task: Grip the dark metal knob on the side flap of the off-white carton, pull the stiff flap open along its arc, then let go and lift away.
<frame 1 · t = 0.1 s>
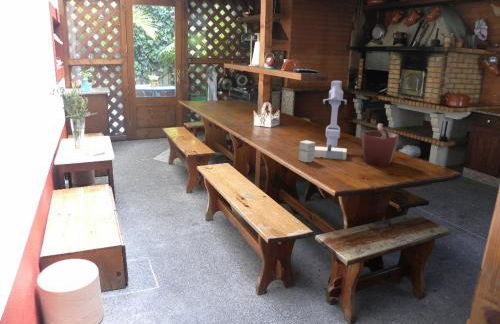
hand: (334, 111, 256), 32 cm above the table, tool tilted 50°, fingers open, 7 cm apart
flap: (334, 151, 268), point 5 cm above the table, hinge at 0.0°
carton: (327, 156, 276), on the table
supplement box: (306, 161, 264), on the table
bucket: (376, 162, 264), on the table
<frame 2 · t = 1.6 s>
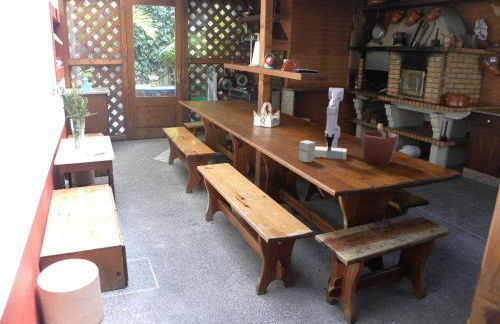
hand: (329, 145, 268), 9 cm above the table, tool pointing down, fingers open, 7 cm apart
nothing on the table moved.
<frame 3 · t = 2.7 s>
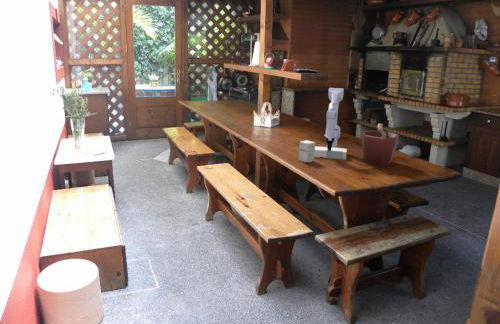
hand: (329, 149, 269), 6 cm above the table, tool pointing down, fingers closed on flap, 2 cm apart
flap: (334, 151, 268), point 5 cm above the table, hinge at 0.0°, touching gripper
everything else where it was.
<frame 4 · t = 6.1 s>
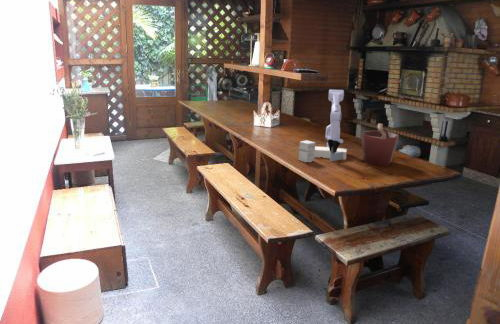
hand: (333, 151, 262), 6 cm above the table, tool pointing down, fingers open, 3 cm apart
flap: (336, 153, 264), point 5 cm above the table, hinge at 43.9°
everything else where it was.
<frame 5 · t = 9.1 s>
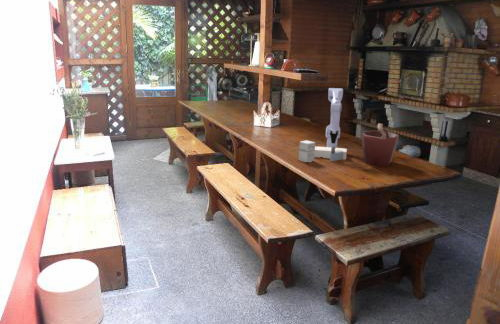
hand: (333, 142, 271), 10 cm above the table, tool pointing down, fingers open, 7 cm apart
nothing on the table moved.
at the end: flap at +44° (first picture: +0°); the gripper is holding nothing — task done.
